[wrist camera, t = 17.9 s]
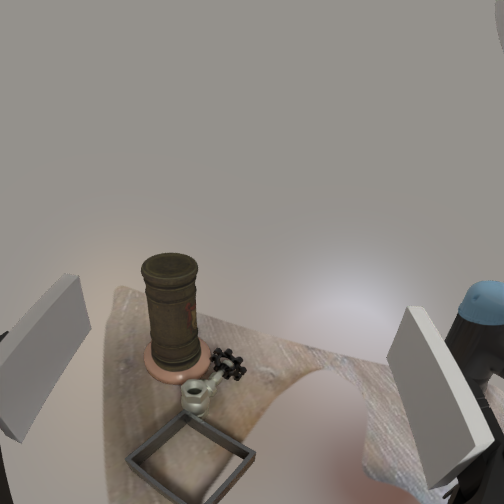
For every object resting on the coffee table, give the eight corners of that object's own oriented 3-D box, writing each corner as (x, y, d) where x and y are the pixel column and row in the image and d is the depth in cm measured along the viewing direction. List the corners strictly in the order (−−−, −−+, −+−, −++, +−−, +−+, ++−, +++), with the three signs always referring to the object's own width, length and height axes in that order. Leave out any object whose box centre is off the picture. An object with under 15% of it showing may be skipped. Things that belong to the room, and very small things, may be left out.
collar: (186, 419, 42) (184, 408, 41) (254, 461, 37) (256, 451, 35) (129, 468, 33) (124, 458, 32) (200, 522, 27) (198, 516, 26)
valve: (207, 432, 41) (245, 383, 51) (205, 407, 38) (248, 356, 48) (171, 412, 43) (212, 368, 53) (166, 386, 40) (212, 341, 50)
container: (163, 379, 47) (151, 286, 40) (144, 346, 54) (131, 258, 46) (211, 361, 52) (211, 271, 45) (187, 332, 59) (184, 246, 51)
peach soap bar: (176, 330, 61) (175, 324, 61) (224, 357, 56) (224, 351, 55) (131, 360, 52) (130, 355, 51) (179, 396, 46) (178, 390, 46)
